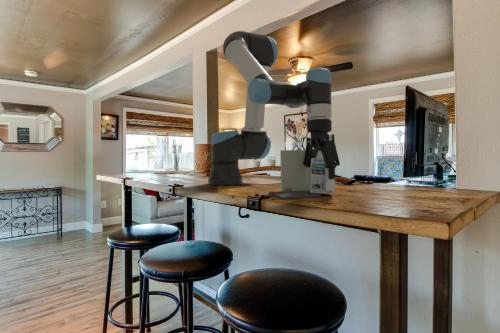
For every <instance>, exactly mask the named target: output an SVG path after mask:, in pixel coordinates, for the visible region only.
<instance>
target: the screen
mask: <svg viewBox="0 0 500 333" xmlns="http://www.w3.org/2000/svg"><path fill="white" fill-rule="evenodd" d="M279 155H280V156H279V157H280V191H302V190H304V191H310V190H309V189H310V187H307V167H306V166H305V165H303V161H304V155H305V149H301V150H300V149H296V150H295V149H294V150H293V149H289V150H286V149H285V150H283V149H282V150H281V149H280V154H279ZM316 158H323V155H322V153H321V151H318V154H317V157H316ZM323 159H324V158H323Z"/></svg>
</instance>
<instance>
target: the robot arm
mask: <svg viewBox="0 0 500 333" xmlns="http://www.w3.org/2000/svg"><path fill="white" fill-rule="evenodd" d="M222 53H223V55H224V58H226V60H227V61H228V62H229V63H231V64H232V65H234V67H235V69H236V70H237V71H238V73H239V74H240V75H241V77H242V78H243V79H244V81H245V82H246V83H247V84H246V99H245V117H244V126H243V127H241V130H240V133H239V131H238V130H226V131H219V132H215V133H213V134H212V135H211V144H210V146H211V168H210V172H209V175H208V178H207V183H208V185H210V186H236V185H242V184H243V175H242V173H241V171H240V170H241V169H240V167H239V160H240V161H241V160H245V161H246V160H254V161H257V160H262V159H265V158H266V157H267V156H268V155H269V153H270V150H271V148H272V147H271V146H272V145H271V144H272V142H271V141H272V140H271V138H270V137H271V136H270V135H269V134H267V132H268V131H267V130H266V129H265V127H264V126H265V125H264V124H265V110H266V105H279V106H286V107H288V108H289V109H295V108H301V107H303V106H306V109H305V111H306V119H308V120H307V122H306V131H307V133H308V134H310V135H311V136H307V137H306V138H305V139H306V142H305V144H306V145H305V149H304V150H305V155H304V161H303V165H305V166H306V167H307V187H310V166H311V159H312V158H316V157H317V154H318V151H321V153H322V155H323V158H324V161H325V163H326V166H325V190H326V191H329V190H333V191H336V168H337V166H338V167H339V166H340V165H341V163H340V158H339V154H338V151H337V150H338V149H337V146H336V142H335V133H331V131H332V125H333V124H332V122H333V121H332V77H331V76H332V75H331V71H330V69H328V68H325V67H315V68H311V69H308V70H307V72H306V74H305V75H306V76H305V80H304V81H302V82H299V83H297V82H289V81H288V82H287V81H279V80H274V79H273V78H272V77H271V76H270V75H269V74H268V73H269V71H270V70H272V66H274V64H276V62H277V59H278V54H279V49H278V44H277V41H276V40H275V38H273V37H271V36H267V35H266V34H259V33H253V32H248V31H245V30H236V31H234V32H232V33H230V34H229V35H228V36H226V37H225V39H224V41H223V45H222Z"/></svg>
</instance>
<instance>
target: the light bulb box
mask: <svg viewBox="0 0 500 333" xmlns="http://www.w3.org/2000/svg"><path fill="white" fill-rule="evenodd" d="M325 166H326V163H325V161H324V159H323V158H312V159H311V166H310V189H309V190H308V191H309V192H310V193H315V194H319V195H332V196H333V192H334V190H329V191H326V190H325Z"/></svg>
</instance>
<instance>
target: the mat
mask: <svg viewBox="0 0 500 333" xmlns="http://www.w3.org/2000/svg"><path fill="white" fill-rule="evenodd" d="M268 194H269V195H271V196H273V197H276V198H279V199H281V200H290V199H291V200H292V199H309V198H311V199H314V198H322V194H317V193H310V191H309V190H302V191H281V190H280V191H269V192H268Z"/></svg>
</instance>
